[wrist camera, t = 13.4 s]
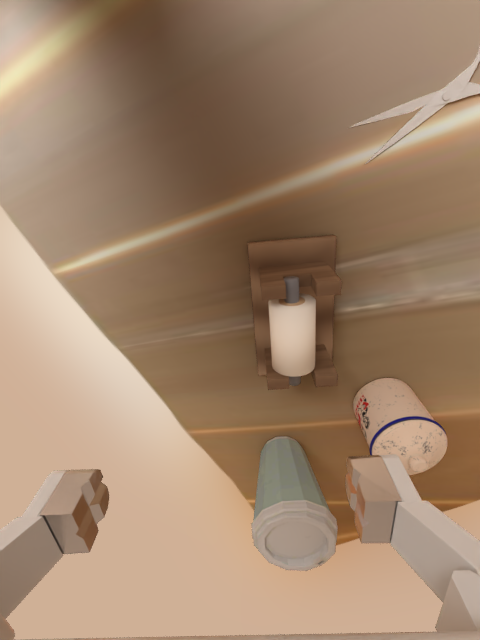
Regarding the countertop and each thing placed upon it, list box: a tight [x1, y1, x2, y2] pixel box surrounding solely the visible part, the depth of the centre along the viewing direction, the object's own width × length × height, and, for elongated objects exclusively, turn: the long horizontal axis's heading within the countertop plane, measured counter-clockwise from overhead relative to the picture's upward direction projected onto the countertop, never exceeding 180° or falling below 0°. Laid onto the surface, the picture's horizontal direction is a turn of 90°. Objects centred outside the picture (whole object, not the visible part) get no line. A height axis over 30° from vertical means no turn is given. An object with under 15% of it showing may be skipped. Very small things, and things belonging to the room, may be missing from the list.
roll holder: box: [248, 235, 342, 390], centre depth 38 cm, size 18×10×8 cm, turn 5°
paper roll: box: [268, 276, 316, 386], centre depth 37 cm, size 13×5×5 cm
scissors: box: [349, 46, 480, 163], centre depth 32 cm, size 11×1×20 cm
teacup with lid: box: [353, 378, 447, 475], centre depth 43 cm, size 12×9×12 cm
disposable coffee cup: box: [252, 436, 338, 571], centre depth 46 cm, size 11×11×15 cm
